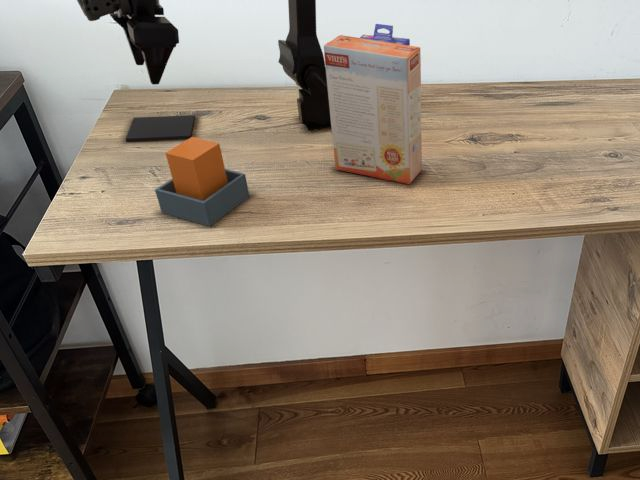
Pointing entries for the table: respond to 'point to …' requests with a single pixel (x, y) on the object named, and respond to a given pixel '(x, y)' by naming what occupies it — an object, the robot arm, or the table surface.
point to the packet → (197, 168)
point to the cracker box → (375, 107)
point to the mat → (161, 128)
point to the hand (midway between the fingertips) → (147, 74)
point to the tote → (206, 209)
